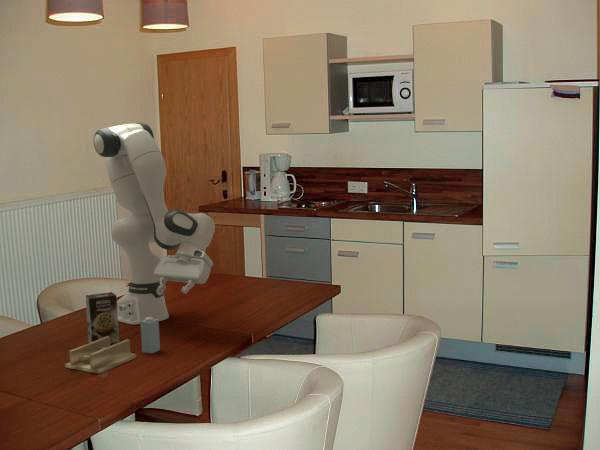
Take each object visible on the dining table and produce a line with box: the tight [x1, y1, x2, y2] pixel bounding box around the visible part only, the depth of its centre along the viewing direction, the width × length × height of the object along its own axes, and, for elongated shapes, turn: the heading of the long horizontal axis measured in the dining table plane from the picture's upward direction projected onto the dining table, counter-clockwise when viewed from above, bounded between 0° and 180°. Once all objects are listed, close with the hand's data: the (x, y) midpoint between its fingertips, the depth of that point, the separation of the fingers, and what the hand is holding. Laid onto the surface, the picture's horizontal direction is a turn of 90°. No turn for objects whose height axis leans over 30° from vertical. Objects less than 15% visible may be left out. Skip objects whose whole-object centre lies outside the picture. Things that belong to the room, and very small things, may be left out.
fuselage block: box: [139, 317, 161, 354], centre depth 238 cm, size 4×4×11 cm
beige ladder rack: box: [64, 336, 137, 374], centre depth 229 cm, size 14×16×5 cm
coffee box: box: [85, 291, 120, 345], centre depth 249 cm, size 9×6×16 cm
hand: (172, 291), depth 247 cm, fingers open, 8 cm apart
